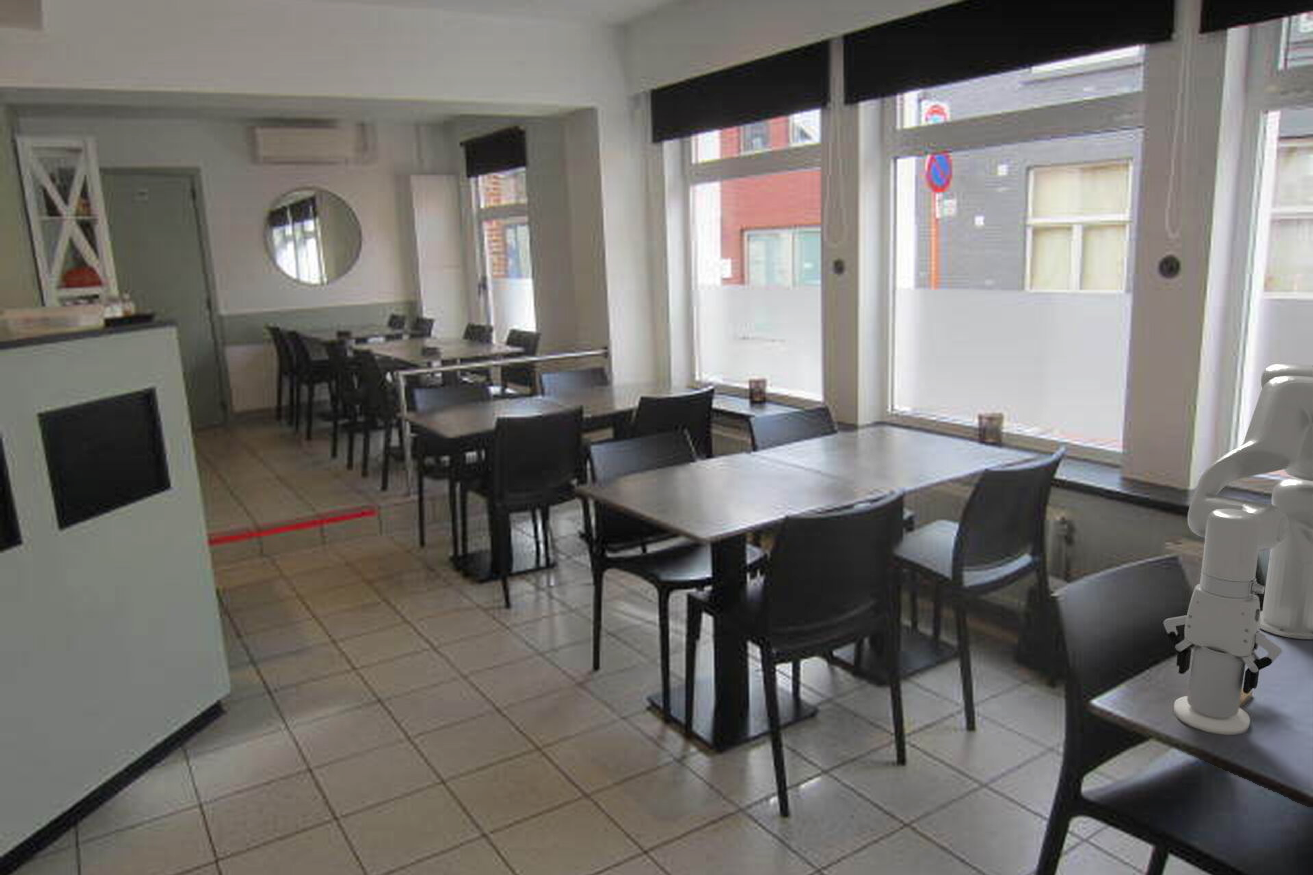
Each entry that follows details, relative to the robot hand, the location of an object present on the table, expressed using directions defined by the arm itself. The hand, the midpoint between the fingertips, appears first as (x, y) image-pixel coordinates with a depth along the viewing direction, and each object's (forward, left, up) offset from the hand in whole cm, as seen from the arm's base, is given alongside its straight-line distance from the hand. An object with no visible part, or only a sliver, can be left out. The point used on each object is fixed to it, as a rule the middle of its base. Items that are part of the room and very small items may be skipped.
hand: (1215, 680), depth 155 cm
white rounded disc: (0, 0, -7) cm, 7 cm away
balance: (-12, 0, -7) cm, 14 cm away
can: (0, 0, -6) cm, 6 cm away
